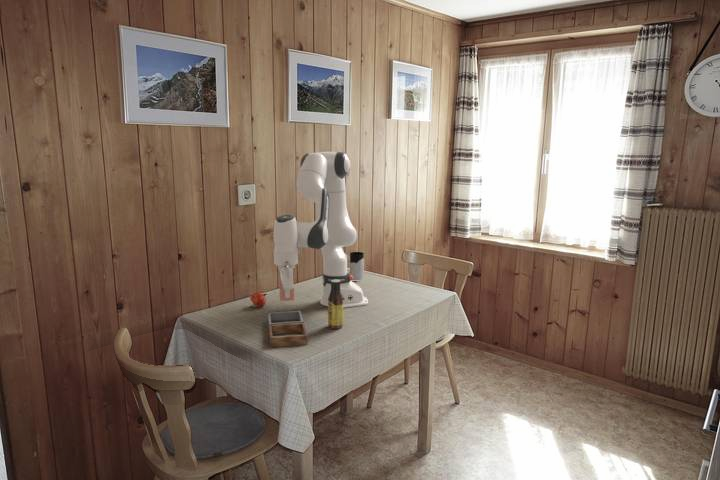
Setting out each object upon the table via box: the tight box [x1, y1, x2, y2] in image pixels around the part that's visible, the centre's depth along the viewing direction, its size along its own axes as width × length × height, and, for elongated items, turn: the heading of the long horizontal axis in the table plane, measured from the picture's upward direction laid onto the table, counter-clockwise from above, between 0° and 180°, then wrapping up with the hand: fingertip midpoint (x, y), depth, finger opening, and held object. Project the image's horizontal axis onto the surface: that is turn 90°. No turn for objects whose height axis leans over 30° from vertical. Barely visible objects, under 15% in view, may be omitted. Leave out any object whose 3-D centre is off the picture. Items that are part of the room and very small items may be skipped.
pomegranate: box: [249, 292, 268, 309], centre depth 231 cm, size 7×7×10 cm
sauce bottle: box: [327, 279, 344, 330], centre depth 205 cm, size 6×6×20 cm
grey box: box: [267, 310, 305, 333], centre depth 208 cm, size 14×14×4 cm
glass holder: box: [345, 251, 365, 280], centre depth 279 cm, size 9×14×15 cm, turn 59°
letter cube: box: [278, 283, 295, 302], centre depth 191 cm, size 5×5×5 cm
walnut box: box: [268, 322, 308, 348], centre depth 194 cm, size 14×14×4 cm
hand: (286, 294), depth 191 cm, fingers closed on letter cube, 5 cm apart
